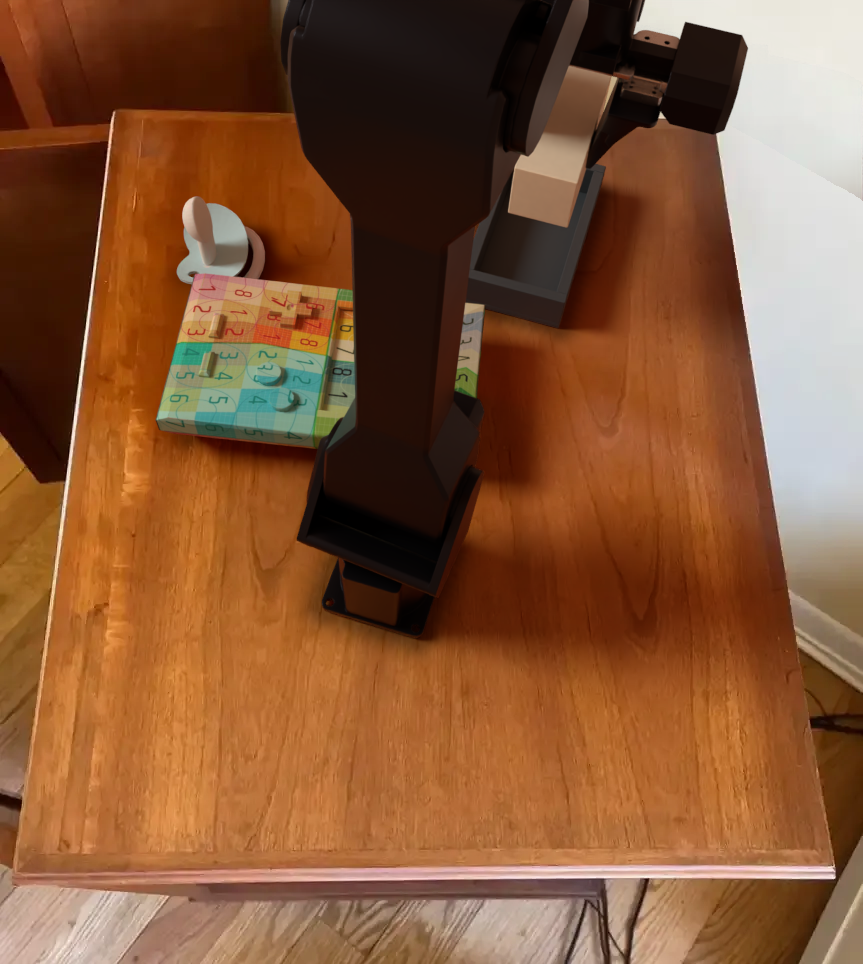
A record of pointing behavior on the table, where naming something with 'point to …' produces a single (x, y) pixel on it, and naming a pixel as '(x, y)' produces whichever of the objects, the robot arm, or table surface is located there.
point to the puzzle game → (274, 361)
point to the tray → (530, 257)
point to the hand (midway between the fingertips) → (558, 155)
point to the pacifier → (217, 242)
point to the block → (560, 151)
